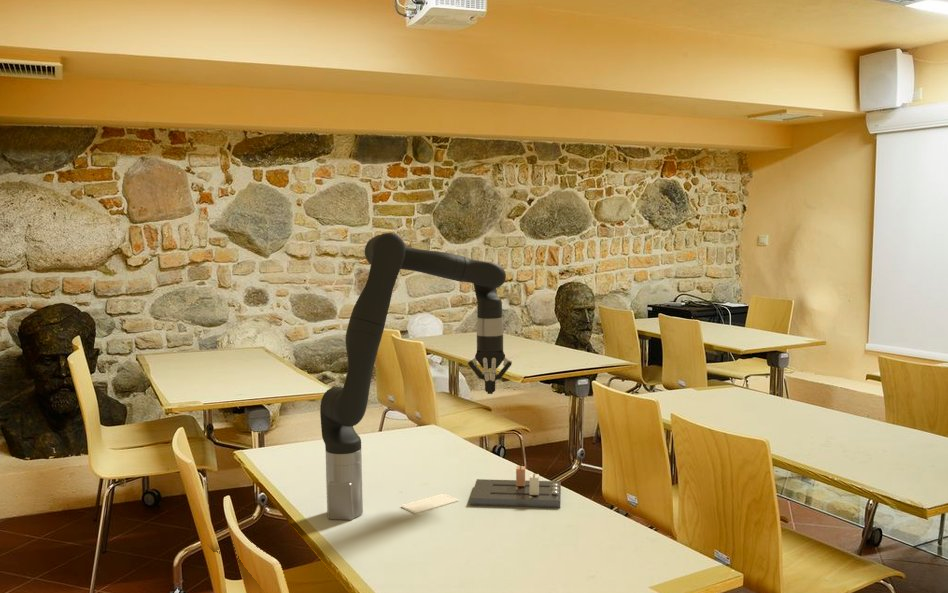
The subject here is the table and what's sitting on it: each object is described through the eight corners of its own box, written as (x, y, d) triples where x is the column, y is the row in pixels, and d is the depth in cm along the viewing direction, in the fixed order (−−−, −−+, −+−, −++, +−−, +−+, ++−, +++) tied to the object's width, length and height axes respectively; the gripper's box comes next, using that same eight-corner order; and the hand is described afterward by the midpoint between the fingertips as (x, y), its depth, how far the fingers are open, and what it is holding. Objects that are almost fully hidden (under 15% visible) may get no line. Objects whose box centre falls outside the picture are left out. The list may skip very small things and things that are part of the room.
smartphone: (460, 499, 220) (416, 512, 210) (460, 502, 220) (416, 515, 210) (443, 493, 225) (399, 505, 216) (443, 496, 225) (399, 508, 216)
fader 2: (538, 495, 217) (538, 477, 216) (529, 494, 217) (529, 476, 217) (538, 491, 220) (538, 473, 219) (530, 491, 220) (529, 473, 220)
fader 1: (524, 486, 224) (524, 468, 224) (516, 486, 225) (516, 468, 224) (525, 482, 227) (525, 465, 227) (516, 482, 228) (516, 465, 227)
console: (560, 507, 213) (560, 497, 213) (470, 505, 216) (470, 495, 216) (560, 488, 229) (560, 478, 229) (476, 486, 232) (476, 476, 232)
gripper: (465, 335, 226) (465, 395, 227) (512, 335, 224) (512, 396, 226) (468, 331, 233) (468, 390, 235) (514, 331, 231) (514, 391, 233)
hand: (490, 393), depth 230 cm, fingers closed
